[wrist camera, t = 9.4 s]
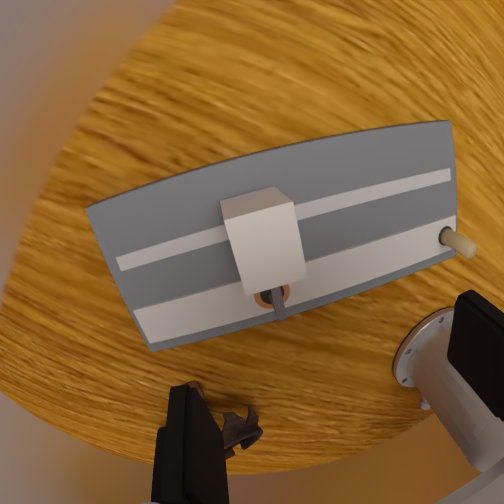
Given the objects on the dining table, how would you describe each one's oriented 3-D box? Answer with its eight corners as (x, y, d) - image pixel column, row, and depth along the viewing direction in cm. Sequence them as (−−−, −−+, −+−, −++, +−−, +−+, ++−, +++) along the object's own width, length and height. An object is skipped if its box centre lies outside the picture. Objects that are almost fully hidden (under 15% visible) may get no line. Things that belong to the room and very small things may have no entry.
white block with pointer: (296, 290, 25) (315, 324, 21) (249, 304, 25) (259, 342, 21) (274, 186, 22) (293, 201, 17) (219, 200, 22) (223, 220, 17)
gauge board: (447, 250, 29) (481, 272, 24) (152, 342, 28) (145, 385, 22) (440, 120, 23) (483, 124, 18) (91, 204, 22) (62, 225, 17)
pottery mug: (211, 360, 30) (256, 424, 25) (241, 381, 37) (278, 430, 32) (127, 418, 28) (160, 482, 23) (170, 428, 35) (200, 479, 30)
